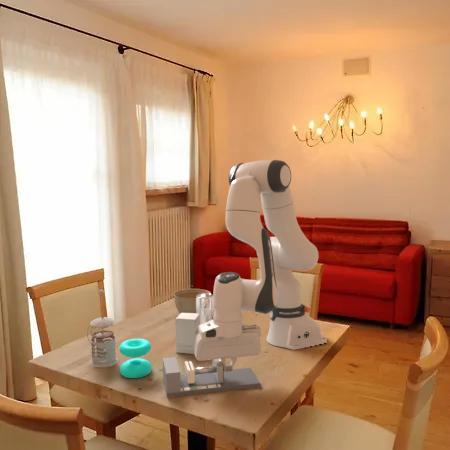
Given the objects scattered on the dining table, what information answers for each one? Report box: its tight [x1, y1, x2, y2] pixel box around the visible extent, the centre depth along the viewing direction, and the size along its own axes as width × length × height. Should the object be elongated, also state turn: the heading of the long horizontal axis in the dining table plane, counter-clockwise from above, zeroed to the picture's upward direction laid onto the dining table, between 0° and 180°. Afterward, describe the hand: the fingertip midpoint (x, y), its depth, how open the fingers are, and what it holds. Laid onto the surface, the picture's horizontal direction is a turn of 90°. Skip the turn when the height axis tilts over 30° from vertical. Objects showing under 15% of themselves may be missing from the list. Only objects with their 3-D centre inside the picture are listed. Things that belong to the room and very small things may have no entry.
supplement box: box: [175, 313, 200, 355], centre depth 169 cm, size 7×7×13 cm
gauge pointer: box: [184, 360, 195, 384], centre depth 141 cm, size 2×6×4 cm, turn 13°
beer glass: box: [196, 293, 214, 325], centre depth 187 cm, size 7×7×15 cm
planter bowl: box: [173, 288, 212, 314], centre depth 205 cm, size 16×16×11 cm
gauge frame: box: [162, 356, 261, 398], centre depth 143 cm, size 28×11×7 cm, turn 103°
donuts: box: [118, 338, 153, 379], centre depth 151 cm, size 10×10×10 cm
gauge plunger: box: [194, 359, 224, 383], centre depth 143 cm, size 9×8×5 cm
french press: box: [86, 289, 119, 368], centre depth 159 cm, size 10×12×25 cm
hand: (228, 370), depth 144 cm, fingers closed
